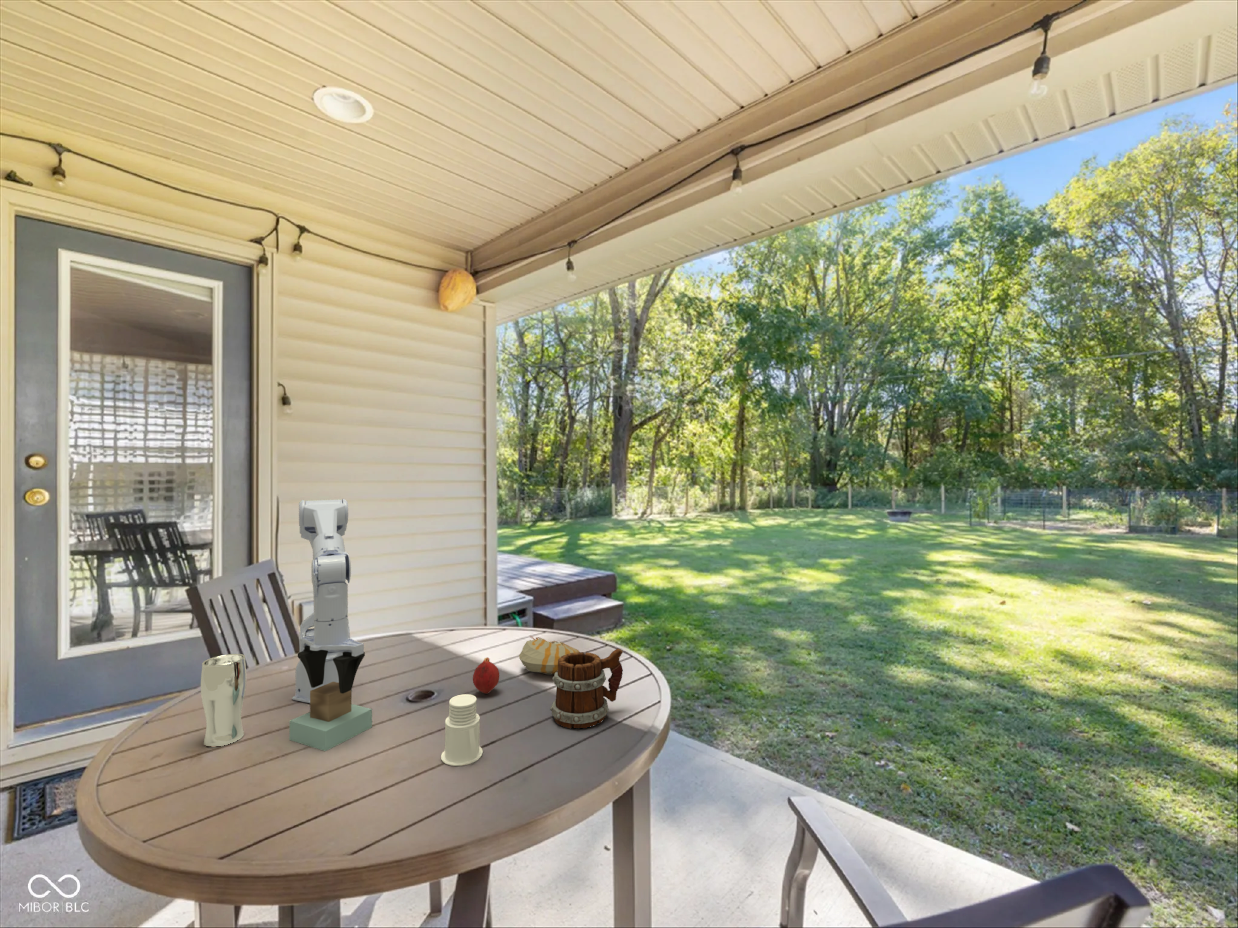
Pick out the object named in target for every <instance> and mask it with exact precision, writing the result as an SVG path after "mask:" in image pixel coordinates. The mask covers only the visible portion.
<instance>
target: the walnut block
mask: <svg viewBox="0 0 1238 928" xmlns="http://www.w3.org/2000/svg"><path fill="white" fill-rule="evenodd" d="M351 704H352V692H351V690H350V691H348V692H346V693H343V694H342V693H340V689H339V683H338V682H331V683H328V684H326V685H324V686H321V687H319V688H316V689H314V690H311V691H310V703H309V712H310V717H311V718H315V719H319V720H323V721H327V722H330V721H332V720H334V719H336V718H338V717H340V716H342V715H344V714H346V713H348V712H351Z"/></svg>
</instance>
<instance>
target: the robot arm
mask: <svg viewBox="0 0 1238 928" xmlns="http://www.w3.org/2000/svg"><path fill="white" fill-rule="evenodd" d="M348 522H349V502H348V500H346V498H342V499H318V500H317V499H316V500H313V499H311V500H304V499H301V501H300V502H299V503H298V526H299V534H300V538H301V539H304V540H307V541H309V542H310V546H311V549H312V560H311V567H310V568H311V569H310V570H311V583H312V590H313V593H312V594H313V612H312V613H311V614H310V615H309V616H308V617H306V618H305V619H304V620H303V621H301V623H300V625H299V637H298V639H299V640H298V642H299V651H298V652H297V657H298V659H299V661H298V662H297V665H296V667H295V695H294V696H292V697H291V699H292V700H293V701H297V702H298V701H299V702H303V703H307V704H308V703H309V704H310V691H311V690H314V689H316V688H319V687H321V686H324V685H326V684H328V683H331V682H338V683H339V689H340V693H342V694H343V693H346V692H348V691H350V690H351V693H352V692H353V690H352V688H353V686H354V682H355V679H356V678H355V677H356V674H357V673H358V669H359V666H360V665H361V663H362V661H363V659H364V658H365V656H366V655H365V654H366V653H365V647H364V646H365V645H364V643H363V642H359V641H358V640H355V639H353V638H351V632H350V625H349V615H348V614H349V607H348V605H349V599H348V597H349V596H348V595H349V594H348V592H349V588H348V587H349V586H348V584H350V581H351V574H352V567H351V566H352V565H351V562H352V561H351V558H350V554H349V553H348V551H346V548H345V542H344V538H343V536H345V534H346V531H347V527H348ZM313 627H314V628H313Z"/></svg>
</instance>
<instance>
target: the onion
mask: <svg viewBox="0 0 1238 928" xmlns="http://www.w3.org/2000/svg"><path fill="white" fill-rule="evenodd" d="M490 660H491V658H489V657H484V659H483V661H482V662H481V663H480V664H479V665H477V666H476V668H475V670H474V672H473V674H472V683H473V685H474V688H475V689H477V690H478V691H479V692H481V693H483V694H484V695H487V694H489V693H490V692H491V691H492V690H494V689H495V688H496V687H497V685H498V684H499V681H500V671H499V668H498V667H497V666H496V664H494V663H493V662H491V661H490Z"/></svg>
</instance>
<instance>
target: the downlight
mask: <svg viewBox="0 0 1238 928" xmlns="http://www.w3.org/2000/svg"><path fill="white" fill-rule="evenodd" d="M448 706H449V707H448V712H449V713H448V716H447V717H446V718H445V721H444V726H445V727H444V728H445V729H444V731H445V732H444V751H442V752H441V756H440V759H441V761H442V763H443V764H446V765H447V766H451V767H462V766H467V765H470V764H473V763H475V762H477V761H478V760H480V759H481V757H482V756H483V748H482V747H481V746H480V728H481V727H480V725H481V724H480V723H481V722H480V719H481V718H480V714H478V713H477V697H476V696H475V695H473V694H470V693H469V694H468V693H466V694H465V693H464V694H458V695H455V696H453V697H451V698H450V699H449V704H448Z"/></svg>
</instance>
